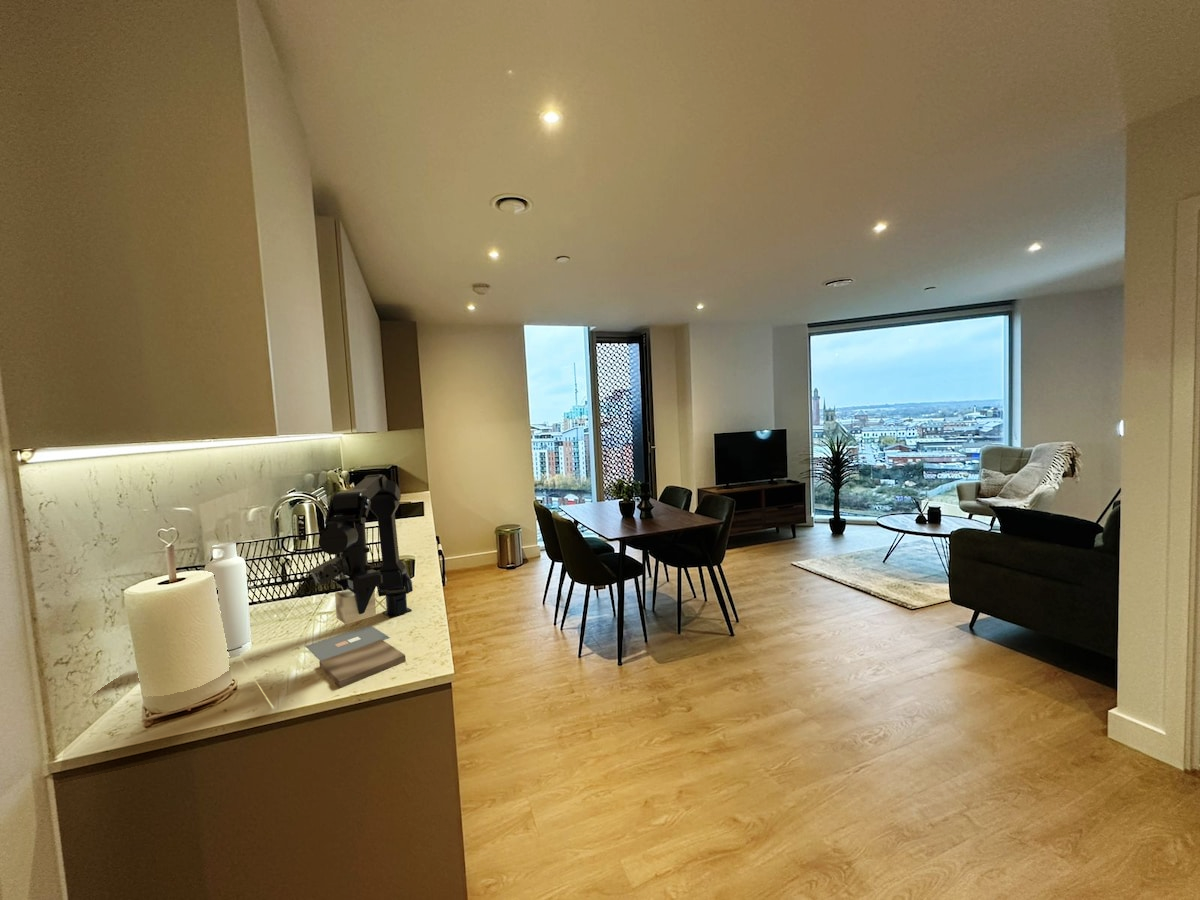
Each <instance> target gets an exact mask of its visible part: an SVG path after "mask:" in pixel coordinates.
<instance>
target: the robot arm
mask: <svg viewBox="0 0 1200 900" xmlns="http://www.w3.org/2000/svg"><path fill="white" fill-rule="evenodd" d="M401 497H402V496H401V490H400V488H399V486H398V484H397V483H396V482H395V481H392V480H390V479H388V478H387V476H386V475H385V474H368V475H366V476H364V477H363V479H362V480H361V481H360V482H359V483H357V484H356V485H355V486H354V487H352V488H351V489H348V490H341V491H338V492H336V493H334V494H333V495H332V497H331V499H330V501H329V504H328V507H327V513H326V517H325V520H324V524H325V525H327V529H326V530H324V531H323V532H322V533H321V535H320V536H319V539H318V544H319V548H320V549H321V550H322V552H324V554H327V555H332V556H333V555H334V557H333V558H331V559H328V560H326V561H325V562H322V563H321V564H319V565H317V566H315V567H313V568H312V569H310V572H309V573H310V574H311V575H312V578H313V580H314V581H315V583H316V584H318V585H319V586H323V585H325V584H327V583H328V582H329V581H331V580H332V582H333V583H335V584H337V585H338V586H340V588H341V591H344V590H350V591H352V592H353V593H354V596H355V600H356V605H357V609H358V613H359V614H363V613H364V612H365V610H366V608H367V605H368V603H369V600H370V598H371V596H372V594H373V592H374V590H375V589H377V595H378V597H385V607H386V609H385V610H384V611H382V615H384V616H386V617H388V619H389V618H390V619H393V618H395V617H399V616H401V615H405V614H407V613H411V612H413V610H412V609H411V608H409V607H408V602H407V595H408V594H410V593H412V592H413V591H414V590H413V581H412V579H411V576H410V575H409V573H408V572H407V566H406V565H405V564H404V563H403V561H401V559H400V554H399V543H398V534H397V532H398V531H397V525H396V523H397V521H396V511H397V510H398V508H399V506H400V503H401V502H400V501H401ZM369 511H371V513H372V514H374V516H375V517H376V518H377V524H378V533H379V534H378V535H379V545H380V552H381V561H382V565H381V567H380V569H379V571H377V570H375V569H372V567H371V564H369V563H368V553H370V550H371V549H370V547H368V546H367V535H366V534H367V533H366V522H367V519H366V518H368V515H369Z"/></svg>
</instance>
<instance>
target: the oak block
mask: <svg viewBox="0 0 1200 900" xmlns="http://www.w3.org/2000/svg"><path fill="white" fill-rule="evenodd" d="M334 594H335V595H334V596H335V614H336V619H337V620H339V621H340V622H342V623H343V624H345V625H347V624H348V625H349V624H351V623H354V622H358V621H363V620H365V619H368V618H372V617H375V616H377V609H376V607H377V606H376V592H375V590H374V592H373V594H372V596H371V598H370V600H369V603H368V605H367V608H366V610H365V612H364V613H363V614H359V613H358V609H357V605H356V600H355V596H354V593H353V592H352V591H350V590H344V591H342V590H339V591H337V592H334Z"/></svg>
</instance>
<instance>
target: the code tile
mask: <svg viewBox="0 0 1200 900" xmlns="http://www.w3.org/2000/svg"><path fill="white" fill-rule="evenodd" d="M380 639H382V640H383V641H385V640H388V639H391V637H390V636H388V635H387V634H385V633H384V632H382V631H380V630H379V629H378V628H376V627H374V626H372V625H371V624H368V625H365V626H362V627H359V628H356V629H353V630H349V631H347V632H344V633H341V634H338V635H335V636H332V637H331V636H330V637H328V638H326V639H322V640H320V641H316V642H313V643H309V644H308V645H304V646H305V648H306V649H307V650H308V651H309V652H310V653H312V655H314V657H315V658H317V659H318V661H322V660H324V659H327V658H330V657H333V656H336V655H338V654H341V653H344V652H347V651H350V650H352V649H355V648H358V647H361V646H364V645H366V644H369V643H372V642H375V641H377V640H380Z"/></svg>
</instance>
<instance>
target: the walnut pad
mask: <svg viewBox="0 0 1200 900" xmlns="http://www.w3.org/2000/svg"><path fill="white" fill-rule="evenodd" d="M318 661H319V667H320V669H321V670H322V671H323V672H324V673H325V674H327V676H328V677H329V678H330V679H331V680H332V681H334V684H336V686H337V687H338V688H339V689H341V688H344V687H347V686H349V685H352V684H353V683H357V682H359V681H361V680H364V679H366V678H368V677H371V676H372V675H375V674H378V673H381V672H383V671H386V670H388V669H391V668H392V667H395V666H397V665H400V664H403V663H405V662H406V661H407V660H406V655H405V653H404V652H403V653H402V652H401V651H400V650H398V649H397V648H395V647H394V646H392V645H391V644H389V643H388V642H386V641H385V640H382V639H380V640H377V641H375V642H372V643H369V644H366V645H364V646H361V647H358V648H355V649H352V650H350V651H347V652H344V653H341V654H338V655H336V656H333V657H330V658H327V659H324V660H322V661H320V660H318Z"/></svg>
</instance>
